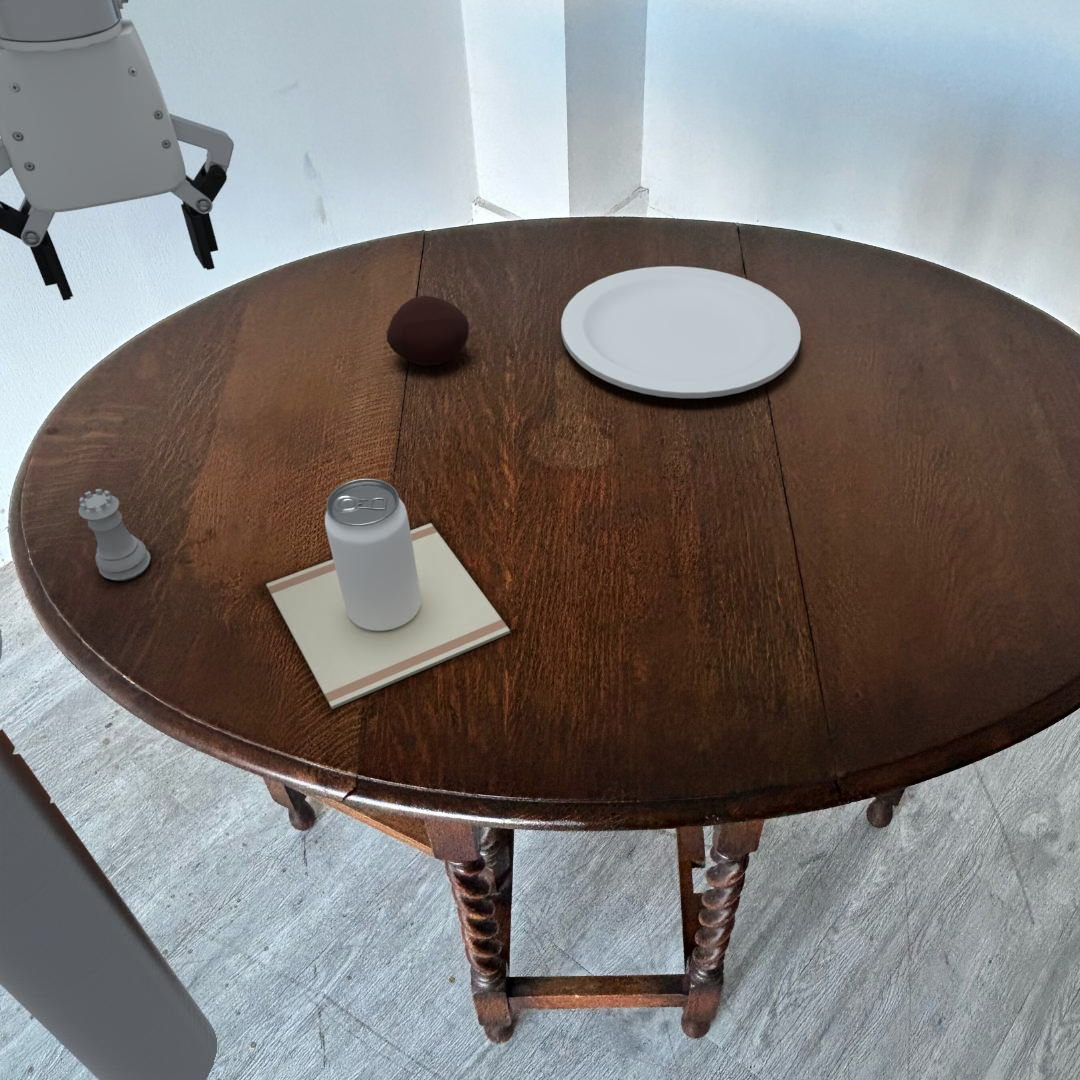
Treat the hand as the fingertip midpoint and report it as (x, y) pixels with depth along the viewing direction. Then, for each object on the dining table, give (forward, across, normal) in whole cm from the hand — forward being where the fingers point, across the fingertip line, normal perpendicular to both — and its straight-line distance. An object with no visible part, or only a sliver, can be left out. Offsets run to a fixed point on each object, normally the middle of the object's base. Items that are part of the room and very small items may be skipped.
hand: (136, 276), depth 71 cm
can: (+27, -10, +13) cm, 32 cm away
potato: (+27, -29, -21) cm, 45 cm away
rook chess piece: (+28, +8, -3) cm, 29 cm away
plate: (+27, -56, -11) cm, 63 cm away
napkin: (+27, -10, +13) cm, 32 cm away
